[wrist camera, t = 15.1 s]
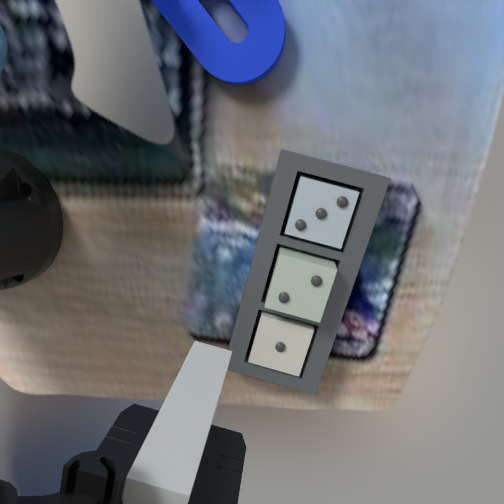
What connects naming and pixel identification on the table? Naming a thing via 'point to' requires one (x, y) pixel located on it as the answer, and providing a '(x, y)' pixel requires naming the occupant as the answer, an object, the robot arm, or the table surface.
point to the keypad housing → (345, 258)
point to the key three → (321, 211)
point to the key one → (280, 343)
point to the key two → (300, 283)
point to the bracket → (220, 48)
